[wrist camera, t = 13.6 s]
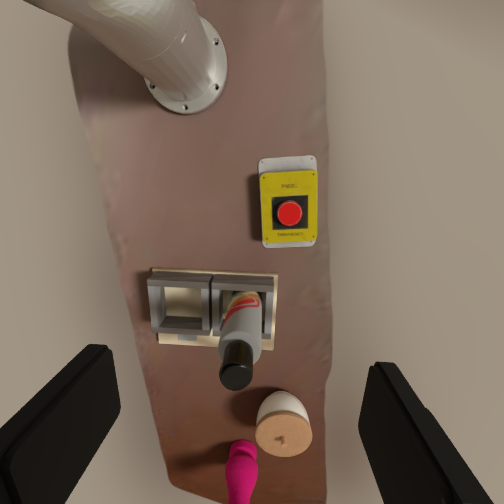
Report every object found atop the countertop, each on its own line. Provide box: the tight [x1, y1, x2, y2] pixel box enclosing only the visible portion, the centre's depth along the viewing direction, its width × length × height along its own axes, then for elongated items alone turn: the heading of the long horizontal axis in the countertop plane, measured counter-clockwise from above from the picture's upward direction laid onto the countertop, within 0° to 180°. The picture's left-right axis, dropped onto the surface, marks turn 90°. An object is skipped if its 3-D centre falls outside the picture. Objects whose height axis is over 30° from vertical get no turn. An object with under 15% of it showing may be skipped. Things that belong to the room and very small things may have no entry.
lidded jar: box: [255, 391, 312, 457], centre depth 51 cm, size 11×11×9 cm
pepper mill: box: [225, 440, 258, 504], centre depth 51 cm, size 7×7×20 cm
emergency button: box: [258, 155, 318, 248], centre depth 41 cm, size 9×4×15 cm
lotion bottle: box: [218, 290, 262, 391], centre depth 38 cm, size 6×6×20 cm
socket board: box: [147, 267, 278, 350], centre depth 47 cm, size 16×23×5 cm
